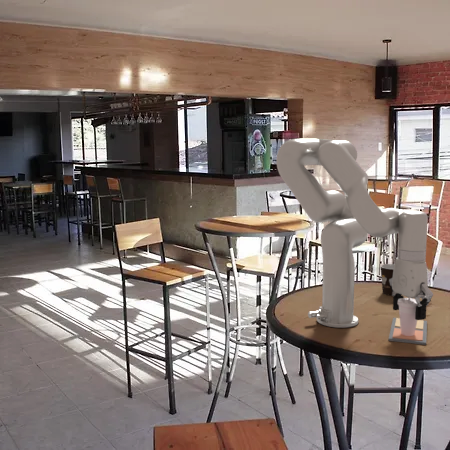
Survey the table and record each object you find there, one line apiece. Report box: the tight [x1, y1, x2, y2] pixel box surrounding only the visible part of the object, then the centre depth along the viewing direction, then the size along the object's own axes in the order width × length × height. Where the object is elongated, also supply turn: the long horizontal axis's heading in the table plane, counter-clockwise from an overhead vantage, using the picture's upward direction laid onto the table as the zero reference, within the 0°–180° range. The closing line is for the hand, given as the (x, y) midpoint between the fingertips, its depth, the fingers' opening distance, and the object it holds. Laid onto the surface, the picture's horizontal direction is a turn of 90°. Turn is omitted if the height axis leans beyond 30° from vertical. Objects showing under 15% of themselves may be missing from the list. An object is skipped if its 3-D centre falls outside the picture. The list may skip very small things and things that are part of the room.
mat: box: [388, 317, 428, 346], centre depth 169 cm, size 20×10×1 cm, turn 160°
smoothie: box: [397, 297, 418, 336], centre depth 164 cm, size 6×6×14 cm
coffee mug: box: [380, 263, 395, 297], centre depth 208 cm, size 12×9×10 cm
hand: (408, 314), depth 164 cm, fingers open, 9 cm apart
